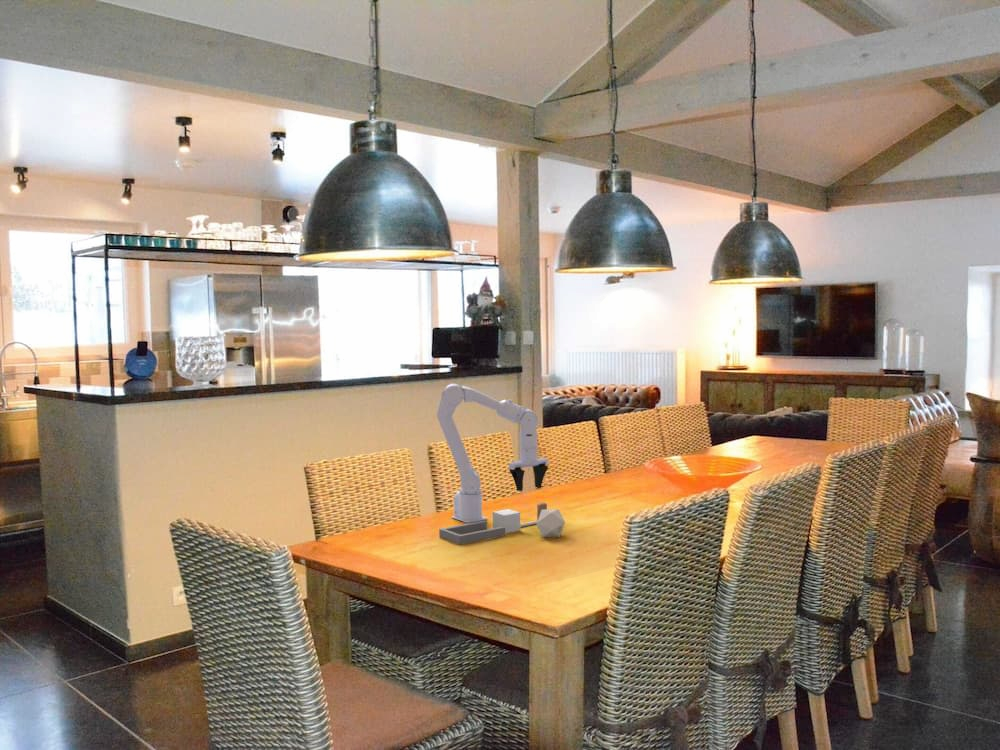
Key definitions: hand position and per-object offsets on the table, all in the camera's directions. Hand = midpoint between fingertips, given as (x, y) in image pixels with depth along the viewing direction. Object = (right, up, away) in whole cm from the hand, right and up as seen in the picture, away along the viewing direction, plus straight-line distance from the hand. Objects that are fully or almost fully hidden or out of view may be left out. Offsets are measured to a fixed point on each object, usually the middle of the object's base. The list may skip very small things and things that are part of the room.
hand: (528, 489), depth 281 cm
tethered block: (-2, -10, -11) cm, 15 cm away
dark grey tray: (-17, -11, -22) cm, 30 cm away
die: (+6, -11, -22) cm, 26 cm away
